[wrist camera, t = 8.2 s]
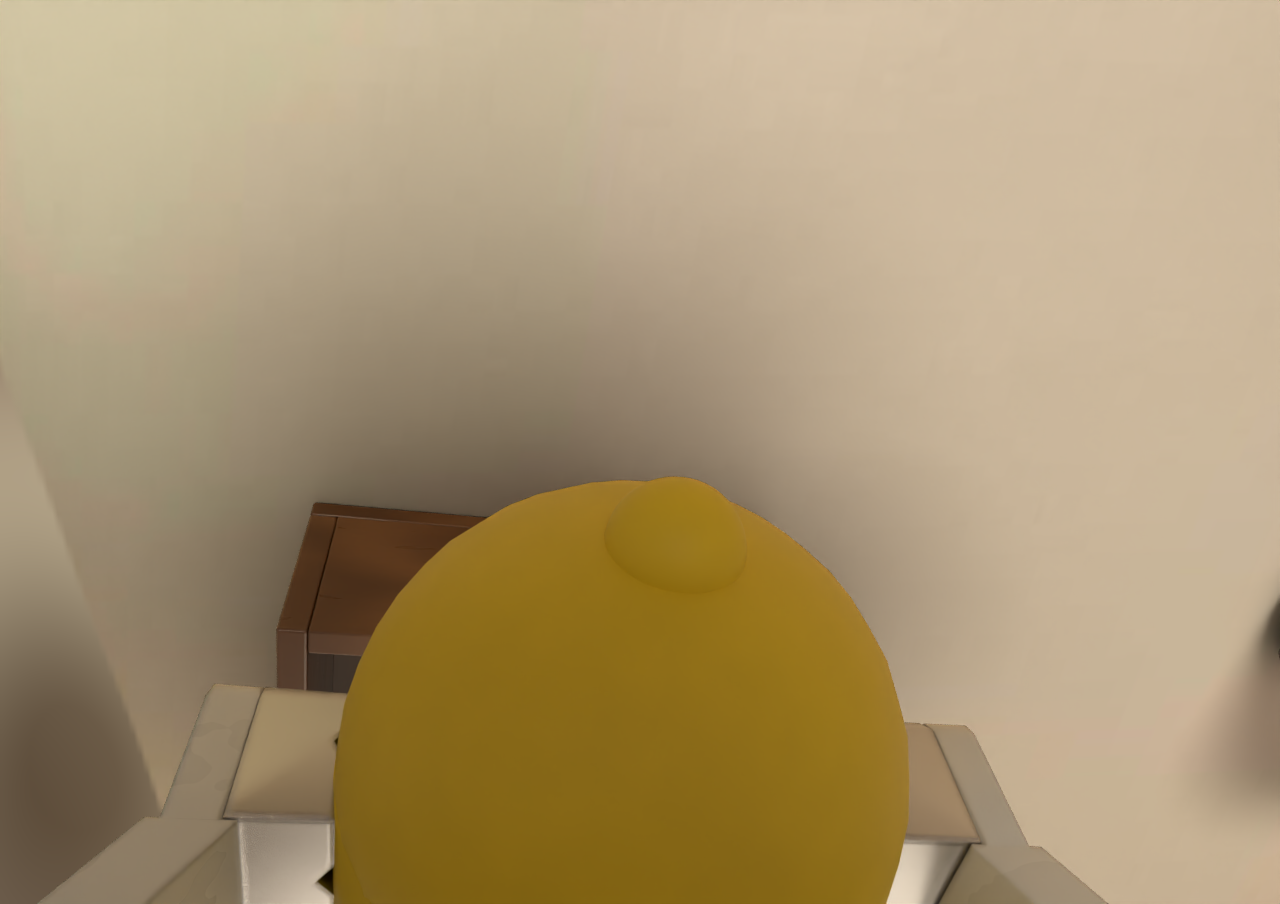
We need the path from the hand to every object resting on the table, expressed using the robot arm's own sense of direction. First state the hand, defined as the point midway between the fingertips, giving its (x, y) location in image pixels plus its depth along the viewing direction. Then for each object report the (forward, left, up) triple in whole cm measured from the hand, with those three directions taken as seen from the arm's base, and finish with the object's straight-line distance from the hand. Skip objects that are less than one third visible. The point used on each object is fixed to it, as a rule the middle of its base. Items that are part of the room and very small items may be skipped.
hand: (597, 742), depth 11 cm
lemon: (0, 0, -2) cm, 2 cm away
